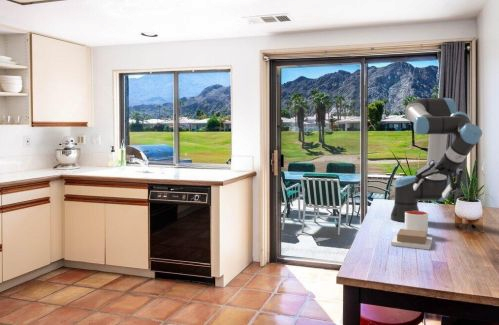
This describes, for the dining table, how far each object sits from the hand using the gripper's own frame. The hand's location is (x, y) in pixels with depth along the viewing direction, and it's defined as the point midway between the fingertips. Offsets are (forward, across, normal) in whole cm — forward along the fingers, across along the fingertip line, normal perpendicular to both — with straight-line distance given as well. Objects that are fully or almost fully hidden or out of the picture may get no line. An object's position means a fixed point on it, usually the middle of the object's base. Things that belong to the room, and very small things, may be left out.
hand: (428, 192), depth 197 cm
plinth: (+12, -5, -21) cm, 25 cm away
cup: (+20, +3, -7) cm, 22 cm away
